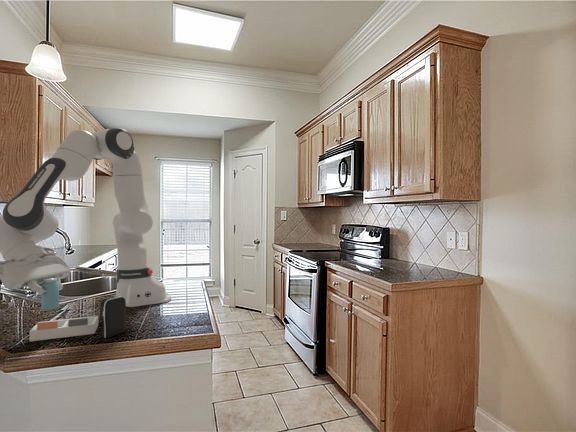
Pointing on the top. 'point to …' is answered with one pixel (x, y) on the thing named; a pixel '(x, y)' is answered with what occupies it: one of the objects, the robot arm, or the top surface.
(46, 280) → the light blue cylinder
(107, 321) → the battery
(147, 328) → the top surface
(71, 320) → the dock
